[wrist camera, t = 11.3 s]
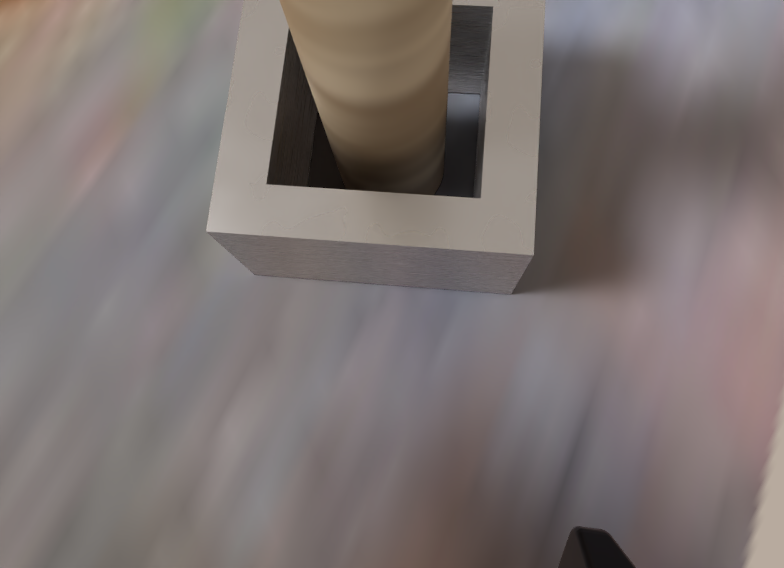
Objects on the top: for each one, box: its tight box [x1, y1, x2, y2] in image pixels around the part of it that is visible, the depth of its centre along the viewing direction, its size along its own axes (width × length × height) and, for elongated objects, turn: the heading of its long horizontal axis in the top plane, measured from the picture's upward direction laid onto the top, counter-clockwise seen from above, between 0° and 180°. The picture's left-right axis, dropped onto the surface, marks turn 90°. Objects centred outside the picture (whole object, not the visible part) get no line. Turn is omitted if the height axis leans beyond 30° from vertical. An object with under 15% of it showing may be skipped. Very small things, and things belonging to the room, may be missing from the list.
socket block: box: [206, 0, 545, 294], centre depth 17 cm, size 7×7×4 cm
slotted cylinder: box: [280, 0, 452, 195], centre depth 12 cm, size 3×3×13 cm
